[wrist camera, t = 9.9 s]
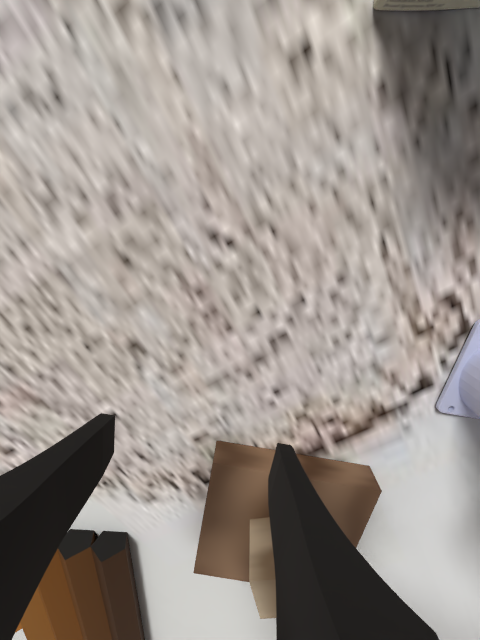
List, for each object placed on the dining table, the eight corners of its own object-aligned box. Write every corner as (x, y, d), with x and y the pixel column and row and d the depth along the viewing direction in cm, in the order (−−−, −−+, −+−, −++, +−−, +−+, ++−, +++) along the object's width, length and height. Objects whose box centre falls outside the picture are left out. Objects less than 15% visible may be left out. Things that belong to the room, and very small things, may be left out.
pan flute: (153, 656, 38) (133, 527, 30) (144, 696, 35) (119, 563, 27) (-24, 644, 39) (-89, 515, 31) (-48, 682, 35) (-129, 549, 27)
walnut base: (369, 466, 25) (381, 491, 23) (327, 566, 30) (334, 595, 27) (216, 440, 25) (213, 463, 23) (198, 545, 29) (193, 573, 27)
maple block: (301, 514, 24) (311, 576, 20) (307, 549, 25) (318, 614, 21) (249, 519, 24) (249, 581, 20) (259, 553, 26) (260, 618, 22)
